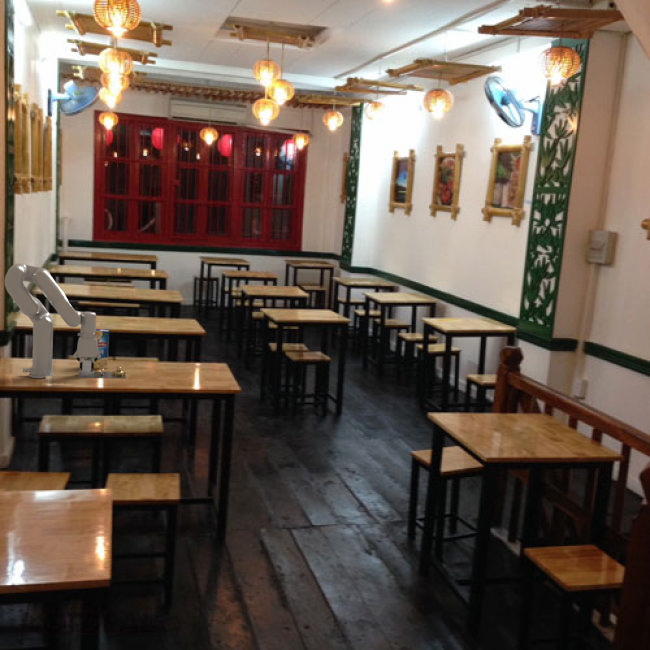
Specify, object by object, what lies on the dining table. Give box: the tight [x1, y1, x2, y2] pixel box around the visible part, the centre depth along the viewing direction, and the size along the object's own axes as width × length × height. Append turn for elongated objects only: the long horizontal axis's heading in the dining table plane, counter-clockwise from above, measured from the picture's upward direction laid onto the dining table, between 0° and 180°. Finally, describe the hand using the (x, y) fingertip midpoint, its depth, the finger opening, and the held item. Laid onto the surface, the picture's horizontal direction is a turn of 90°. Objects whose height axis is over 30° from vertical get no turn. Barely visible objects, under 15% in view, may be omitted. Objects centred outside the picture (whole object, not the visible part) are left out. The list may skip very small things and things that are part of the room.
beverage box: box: [86, 328, 110, 370], centre depth 426 cm, size 7×11×22 cm, turn 104°
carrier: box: [77, 366, 127, 380], centre depth 408 cm, size 24×16×6 cm, turn 108°
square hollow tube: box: [77, 358, 96, 376], centre depth 405 cm, size 8×8×8 cm
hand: (86, 369), depth 405 cm, fingers closed on square hollow tube, 4 cm apart
